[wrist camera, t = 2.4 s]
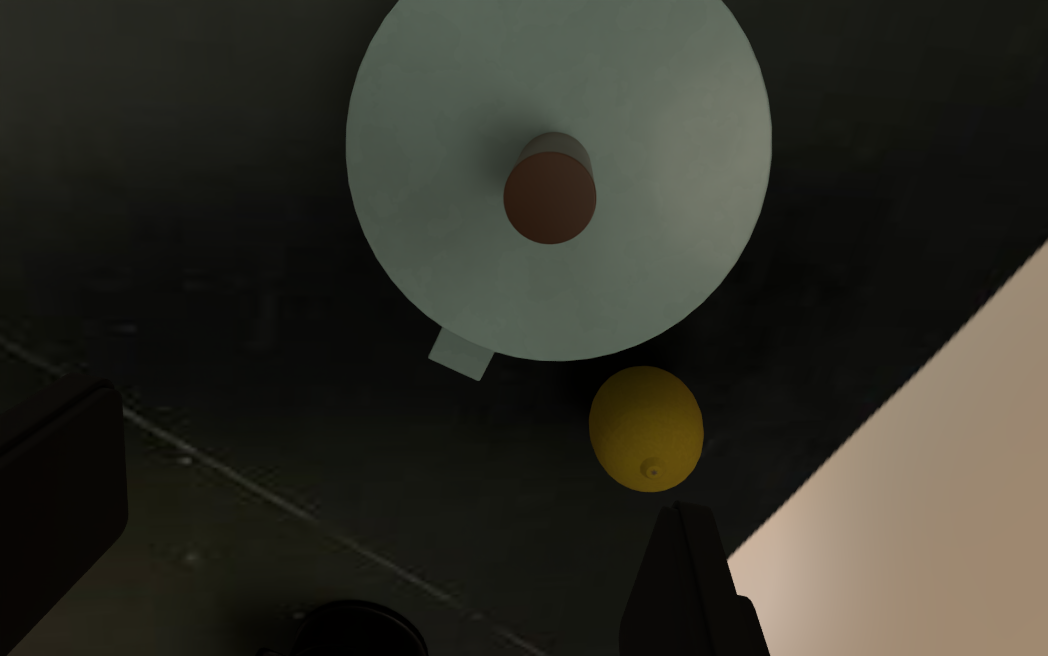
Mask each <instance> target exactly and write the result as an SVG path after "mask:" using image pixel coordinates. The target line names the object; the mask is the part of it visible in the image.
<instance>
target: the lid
mask: <svg viewBox="0 0 1048 656" xmlns="http://www.w3.org/2000/svg"><path fill="white" fill-rule="evenodd" d="M771 158H772V124H771V116H770V108H769V101H768V95H767V91H766V88H765V84H764V80H763V77H762V73H761V69H760V66H759V64H758V62H757V59H756V57H755V55H754V52H753V50H752V48H751V45H750V43H749V41H748V39H747V37H746V35H745V34H744V32H743V30H742V29H741V27H740V25H739V24H738V22H737V20H736V19H735V17H734V16H733V14H732V12H731V11H730V10H729V9H728V8H727V6H726V5H725V4H724V3H723V2H722V0H399V1H398V2H397V3H396V5H395V6H394V7H393V8H392V10H391V11H390V12H389V13H388V15H387V16H386V17H385V19H384V20H383V22H382V24H381V25H380V27H379V29H378V30H377V32H376V34H375V35H374V37H373V39H372V41H371V42H370V44H369V46H368V49H367V51H366V53H365V56H364V58H363V60H362V63H361V65H360V67H359V70H358V73H357V76H356V80H355V84H354V87H353V91H352V94H351V98H350V104H349V111H348V118H347V125H346V163H347V171H348V180H349V186H350V190H351V195H352V199H353V203H354V207H355V211H356V213H357V216H358V219H359V221H360V224H361V227H362V229H363V232H364V235H365V237H366V239H367V241H368V243H369V244H370V246H371V248H372V250H373V252H374V254H375V256H376V258H377V259H378V261H379V262H380V264H381V265H382V267H383V268H384V270H385V271H386V273H387V274H388V276H389V277H390V278H391V280H392V281H393V282H394V283H395V284H396V286H397V287H398V288H399V289H400V290H401V291H402V292H403V294H404V295H405V296H406V297H407V298H408V299H409V300H410V301H411V302H412V303H413V304H414V305H416V306H417V307H418V308H419V309H420V310H421V311H422V312H423V313H424V314H426V315H427V316H428V317H429V318H431V319H432V320H434V321H435V322H437V323H438V324H439V325H441V326H442V327H444V328H445V329H446V330H448V331H450V332H452V333H454V334H455V335H457V336H459V337H461V338H463V339H465V340H467V341H469V342H471V343H473V344H476V345H478V346H481V347H483V348H486V349H489V350H491V351H494V352H498V353H502V354H506V355H510V356H513V357H518V358H526V359H533V360H540V361H570V360H580V359H590V358H594V357H599V356H604V355H608V354H613V353H616V352H619V351H622V350H624V349H627V348H630V347H633V346H636V345H638V344H640V343H643V342H645V341H647V340H649V339H651V338H653V337H655V336H657V335H659V334H661V333H662V332H664V331H665V330H667V329H669V328H670V327H672V326H673V325H675V324H676V323H678V322H679V321H681V320H682V319H684V318H685V317H686V316H687V315H688V314H690V313H691V312H692V311H693V310H694V309H696V308H697V307H698V306H699V305H700V304H702V303H703V302H704V301H705V299H706V298H707V297H708V296H709V295H710V294H711V293H712V292H713V291H714V290H715V289H716V288H717V287H718V286H719V285H720V284H721V282H722V281H723V280H724V278H725V277H726V275H727V274H728V273H729V271H730V270H731V269H732V267H733V266H734V265H735V263H736V262H737V260H738V258H739V257H740V255H741V253H742V251H743V249H744V248H745V246H746V244H747V242H748V241H749V239H750V237H751V234H752V232H753V229H754V227H755V224H756V222H757V219H758V217H759V215H760V212H761V208H762V205H763V201H764V197H765V193H766V190H767V186H768V180H769V173H770V165H771Z"/></svg>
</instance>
